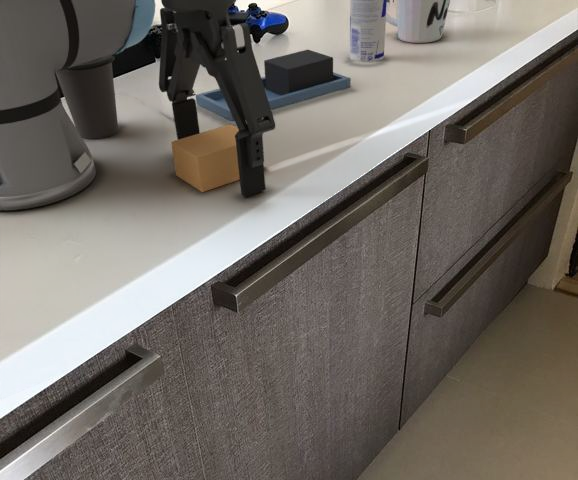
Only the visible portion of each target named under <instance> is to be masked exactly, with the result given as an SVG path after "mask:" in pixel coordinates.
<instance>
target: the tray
mask: <svg viewBox="0 0 578 480" xmlns="http://www.w3.org/2000/svg"><path fill="white" fill-rule="evenodd" d="M261 79H262V82H263V85H264V89H265V92H266V95H267V98H268V102H269V105H270V108H271V111H273V110H276V109H280V108H284V107H287V106H290V105H294V104H297V103H301V102H304V101H307V100H312V99H314V98H317V97H321V96H324V95H328V94H331V93H335V92H338V91H342V90H345V89H348V88H351V85H352V84H351V80H352V79H351V77H349V76H346V75H342V74H340V73H336V72H334V71H333V81H331V82H328V83H324V84H321V85H317V86H314V87H310V88H307V89H303V90H299V91H296V92H292V93H289V94H285V95H282V96H281V95H279V94H276V93H274V92H272V91H269V90H267V89H266V82H265V76H261ZM195 102H196V105H198V106H200V107H202V108H204V109H206V110H208V111H210V112H212V113H215V114H216V115H218V116H221V117H222V118H224V119H227V120H228V121H230V122H235V121H234V118H233V116H232V114H231V112H230V110H229V107H228V105H227V103H226V101H225V99H224V97H223V94H222V92H221V90H220V88H217V89H213V90H209V91H205V92H202V93H197V94H196V95H195Z"/></svg>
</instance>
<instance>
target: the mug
mask: <svg viewBox="0 0 578 480" xmlns="http://www.w3.org/2000/svg"><path fill="white" fill-rule="evenodd" d="M394 1H395V14H396V15H395V16H396V18H395V17H392V16H391V15H390V14H388V13H387V12H386V23H388V24H389V25H392V26H393V27H396V29H397V36H398V39H399V40H401V41H402V42H406V43H411V44H412V43H413V44H426V43H432V42H436V41H438V40H440V39H441V38H442V36H443V33H444V29H445V24H446V20H447V17H448V11H449V7H450V2H451V0H394Z"/></svg>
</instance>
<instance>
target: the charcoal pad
mask: <svg viewBox="0 0 578 480" xmlns="http://www.w3.org/2000/svg"><path fill="white" fill-rule="evenodd" d="M263 63H264V64H263V65H264V77H265V82H266V89H267V90H269V91H272V92H274V93H276V94H279V95H281V96H282V95H285V94H289V93H292V92H296V91H299V90H303V89H307V88H310V87H314V86H317V85H321V84H324V83H328V82H331V81H333V72H334V57H333V56H329V55H327V54H323V53H320V52H317V51H315V50H311V49H304V50H300V51H296V52H292V53H287V54H285V55H280V56H277V57H272V58H269V59H264V61H263Z"/></svg>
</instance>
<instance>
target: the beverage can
mask: <svg viewBox="0 0 578 480" xmlns="http://www.w3.org/2000/svg"><path fill="white" fill-rule="evenodd" d="M387 1H388V0H350V7H349V9H350V10H349V60H351V61H353V62H358V63H375V62H380V61H382V60H383V59H384V58H385V47H386V46H385V44H386V41H385V40H386V23H387V21H386V13H387Z"/></svg>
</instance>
